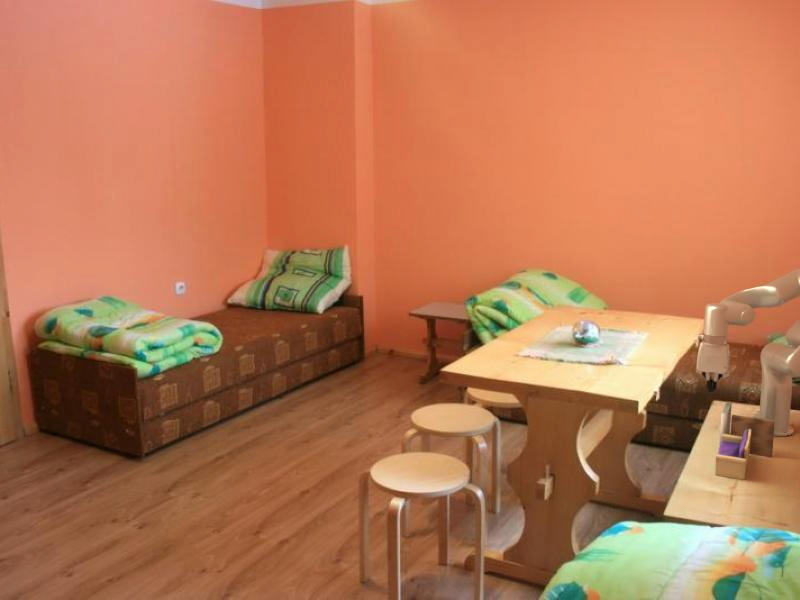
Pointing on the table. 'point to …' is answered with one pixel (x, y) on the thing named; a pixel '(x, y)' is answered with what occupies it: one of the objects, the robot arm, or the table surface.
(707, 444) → the table surface
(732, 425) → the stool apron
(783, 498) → the table surface
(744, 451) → the toy sofa
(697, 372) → the robot arm
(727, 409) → the grey panel
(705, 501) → the table surface
